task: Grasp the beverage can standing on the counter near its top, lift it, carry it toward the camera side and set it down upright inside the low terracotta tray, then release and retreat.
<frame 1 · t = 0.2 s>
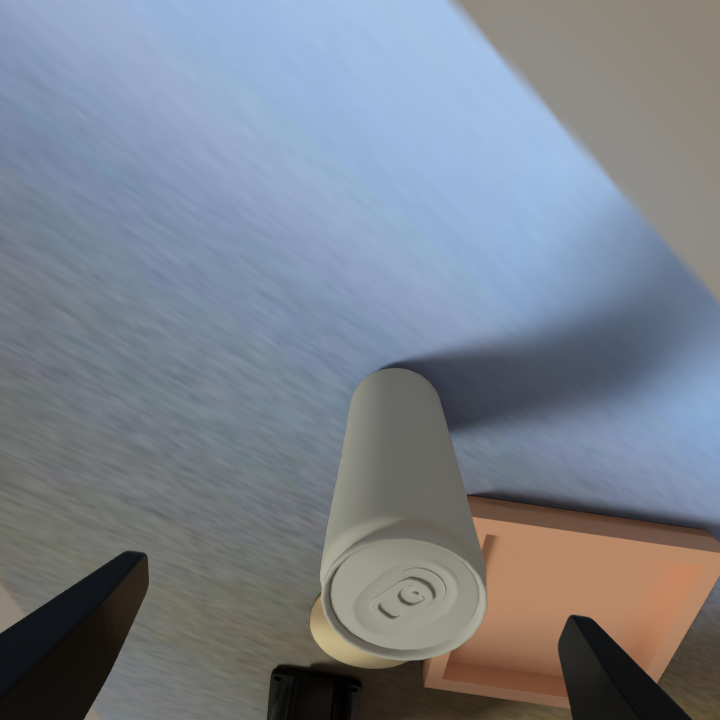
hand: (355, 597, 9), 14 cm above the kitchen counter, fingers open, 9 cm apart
beverage can: (394, 403, 23), on the kitchen counter
tray: (551, 600, 27), on the kitchen counter
cork coaster: (370, 620, 29), on the kitchen counter
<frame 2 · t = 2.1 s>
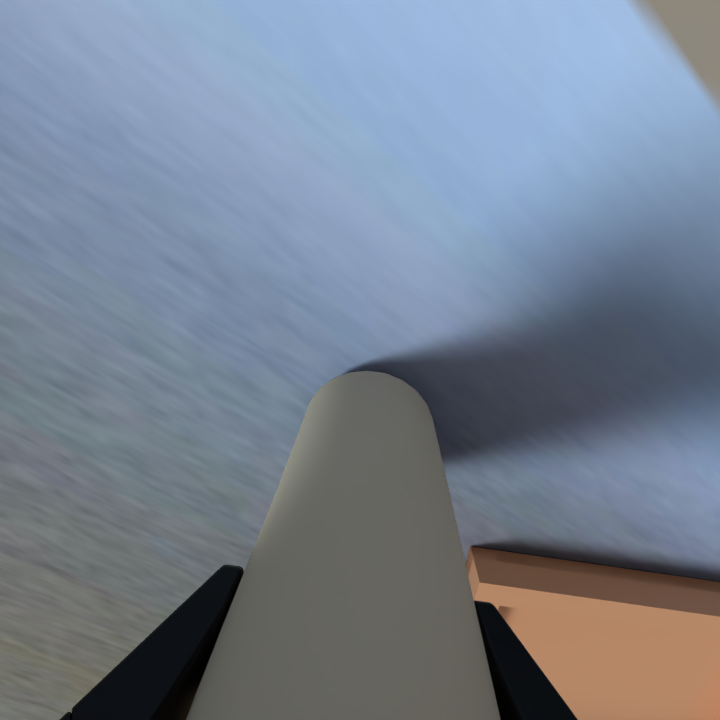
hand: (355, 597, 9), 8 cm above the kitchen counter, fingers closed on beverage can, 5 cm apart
beverage can: (368, 421, 16), on the kitchen counter, touching gripper
tray: (585, 682, 20), on the kitchen counter
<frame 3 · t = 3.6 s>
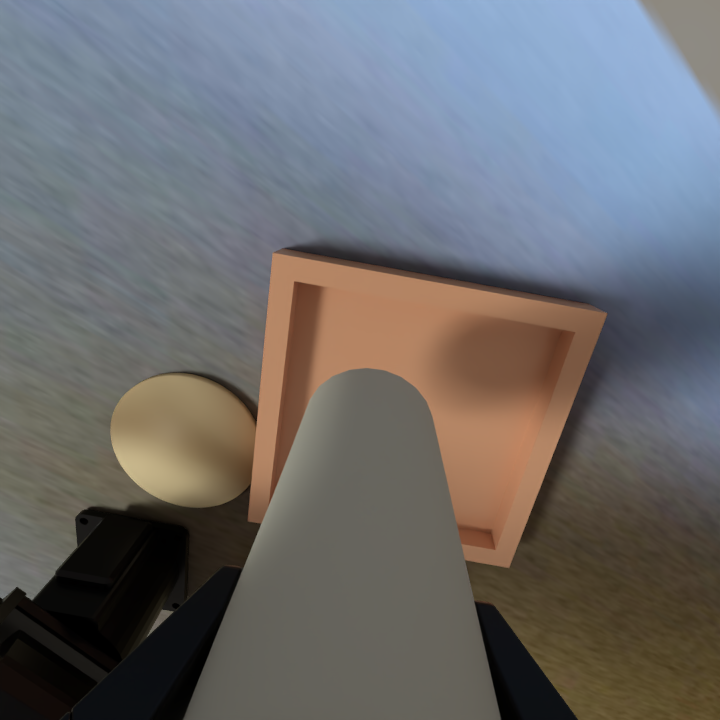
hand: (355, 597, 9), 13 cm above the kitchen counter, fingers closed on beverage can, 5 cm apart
beverage can: (367, 419, 16), point 5 cm above the kitchen counter, touching gripper
tray: (404, 412, 22), on the kitchen counter
cork coaster: (189, 441, 23), on the kitchen counter
when the fingers open (9 cm above the kitchen counter, at t = 5.3 s): beverage can stays where it is, resting on tray.
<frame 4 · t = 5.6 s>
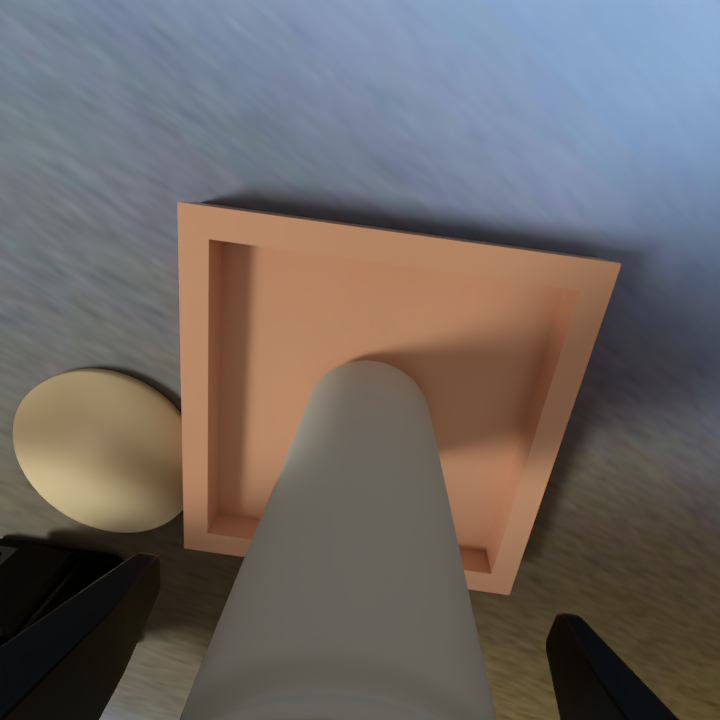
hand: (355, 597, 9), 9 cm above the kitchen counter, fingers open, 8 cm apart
beverage can: (367, 409, 17), resting on tray
tray: (370, 406, 17), on the kitchen counter
cork coaster: (111, 452, 19), on the kitchen counter
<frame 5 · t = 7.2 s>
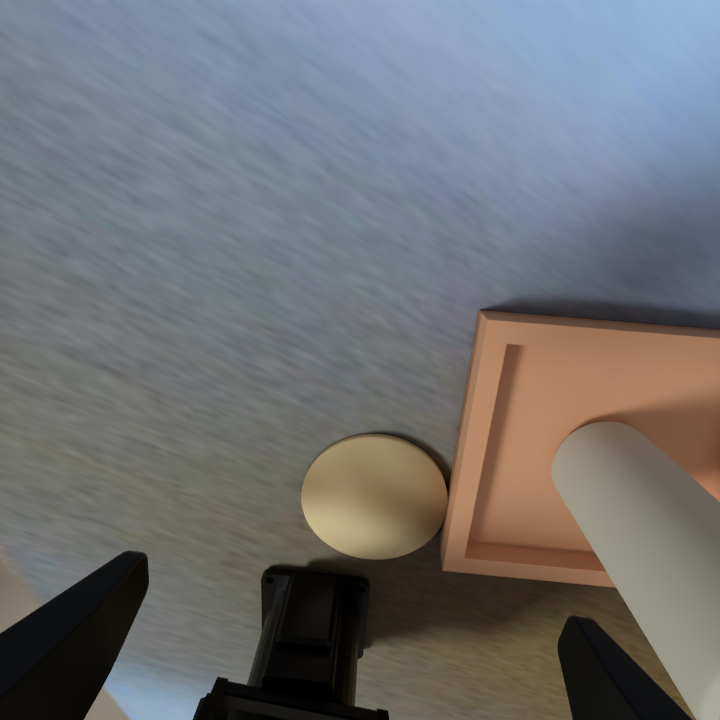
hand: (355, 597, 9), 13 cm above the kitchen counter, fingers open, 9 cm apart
beverage can: (593, 456, 22), resting on tray
tray: (591, 452, 22), on the kitchen counter
cork coaster: (374, 496, 24), on the kitchen counter
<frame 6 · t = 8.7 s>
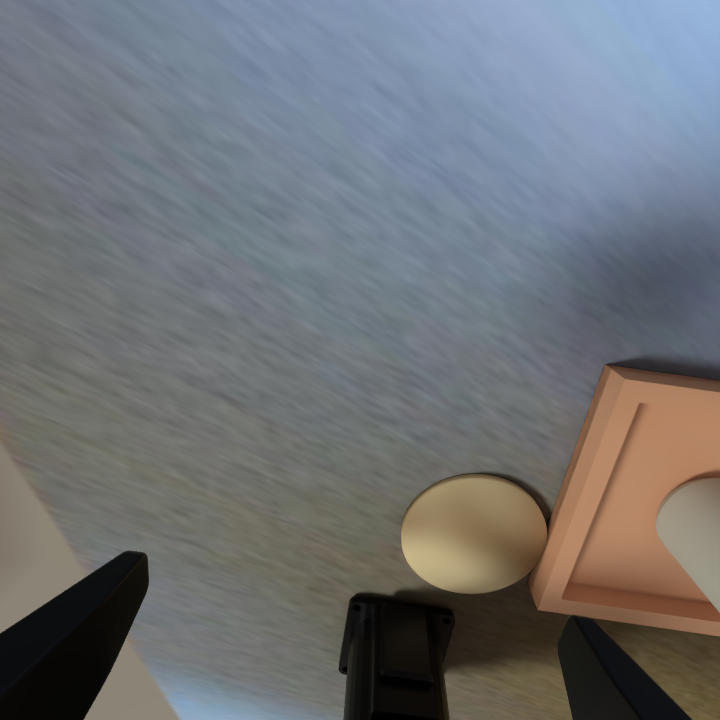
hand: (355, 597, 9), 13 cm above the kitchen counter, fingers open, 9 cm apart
beverage can: (695, 508, 22), resting on tray
tray: (691, 503, 23), on the kitchen counter
cork coaster: (471, 533, 24), on the kitchen counter
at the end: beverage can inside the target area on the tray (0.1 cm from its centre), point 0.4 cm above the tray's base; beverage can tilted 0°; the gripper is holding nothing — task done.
